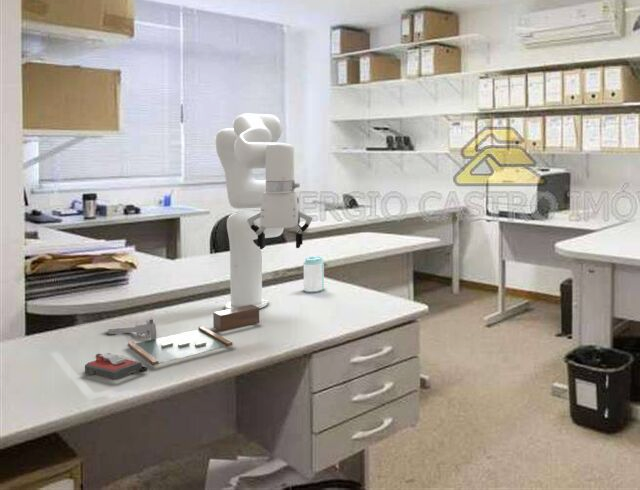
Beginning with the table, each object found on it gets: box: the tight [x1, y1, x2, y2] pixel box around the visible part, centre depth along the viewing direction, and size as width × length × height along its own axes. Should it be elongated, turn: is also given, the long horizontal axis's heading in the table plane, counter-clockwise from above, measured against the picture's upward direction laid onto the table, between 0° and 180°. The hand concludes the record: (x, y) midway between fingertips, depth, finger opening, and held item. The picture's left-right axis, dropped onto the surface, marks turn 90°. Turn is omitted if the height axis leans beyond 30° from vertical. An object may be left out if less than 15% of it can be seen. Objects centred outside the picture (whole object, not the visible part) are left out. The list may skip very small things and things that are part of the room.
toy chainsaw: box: [84, 352, 148, 380], centre depth 134 cm, size 9×4×20 cm
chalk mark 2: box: [178, 342, 190, 347], centre depth 148 cm, size 1×2×1 cm, turn 138°
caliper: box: [105, 318, 157, 340], centre depth 158 cm, size 20×1×6 cm, turn 66°
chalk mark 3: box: [195, 342, 206, 347], centre depth 148 cm, size 1×2×1 cm, turn 137°
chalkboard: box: [127, 326, 233, 366], centre depth 149 cm, size 20×18×2 cm
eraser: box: [212, 304, 260, 332], centre depth 165 cm, size 5×11×6 cm, turn 138°
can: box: [303, 256, 325, 293], centre depth 209 cm, size 7×7×12 cm
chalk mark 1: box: [161, 342, 173, 347], centre depth 148 cm, size 1×2×1 cm, turn 138°
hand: (280, 247), depth 161 cm, fingers open, 9 cm apart
